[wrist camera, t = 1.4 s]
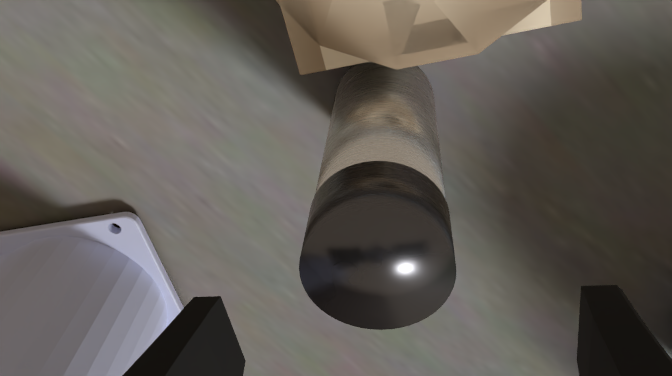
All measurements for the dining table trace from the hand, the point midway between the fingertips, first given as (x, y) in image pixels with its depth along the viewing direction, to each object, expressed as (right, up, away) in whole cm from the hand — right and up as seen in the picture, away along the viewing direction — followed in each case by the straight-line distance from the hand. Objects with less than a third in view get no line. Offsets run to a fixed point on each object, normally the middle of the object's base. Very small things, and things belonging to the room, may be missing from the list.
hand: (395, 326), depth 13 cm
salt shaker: (0, +6, +9) cm, 11 cm away
